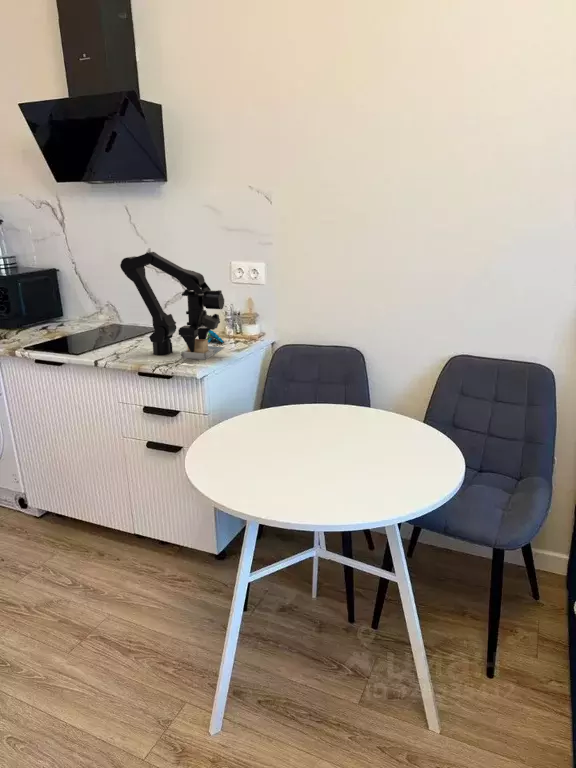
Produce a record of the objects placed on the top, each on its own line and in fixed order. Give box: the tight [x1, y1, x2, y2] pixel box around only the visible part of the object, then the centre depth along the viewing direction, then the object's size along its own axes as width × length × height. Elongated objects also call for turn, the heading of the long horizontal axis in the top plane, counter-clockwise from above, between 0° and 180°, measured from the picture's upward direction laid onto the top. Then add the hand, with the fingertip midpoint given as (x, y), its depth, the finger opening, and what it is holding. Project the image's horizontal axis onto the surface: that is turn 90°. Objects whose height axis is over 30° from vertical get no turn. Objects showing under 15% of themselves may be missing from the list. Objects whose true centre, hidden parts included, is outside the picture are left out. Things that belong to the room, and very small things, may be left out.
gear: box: [206, 330, 225, 344], centre depth 229 cm, size 11×6×10 cm
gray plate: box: [180, 345, 226, 361], centre depth 212 cm, size 20×10×3 cm, turn 164°
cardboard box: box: [187, 338, 209, 353], centre depth 207 cm, size 6×4×6 cm, turn 74°
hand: (197, 349), depth 207 cm, fingers open, 9 cm apart
